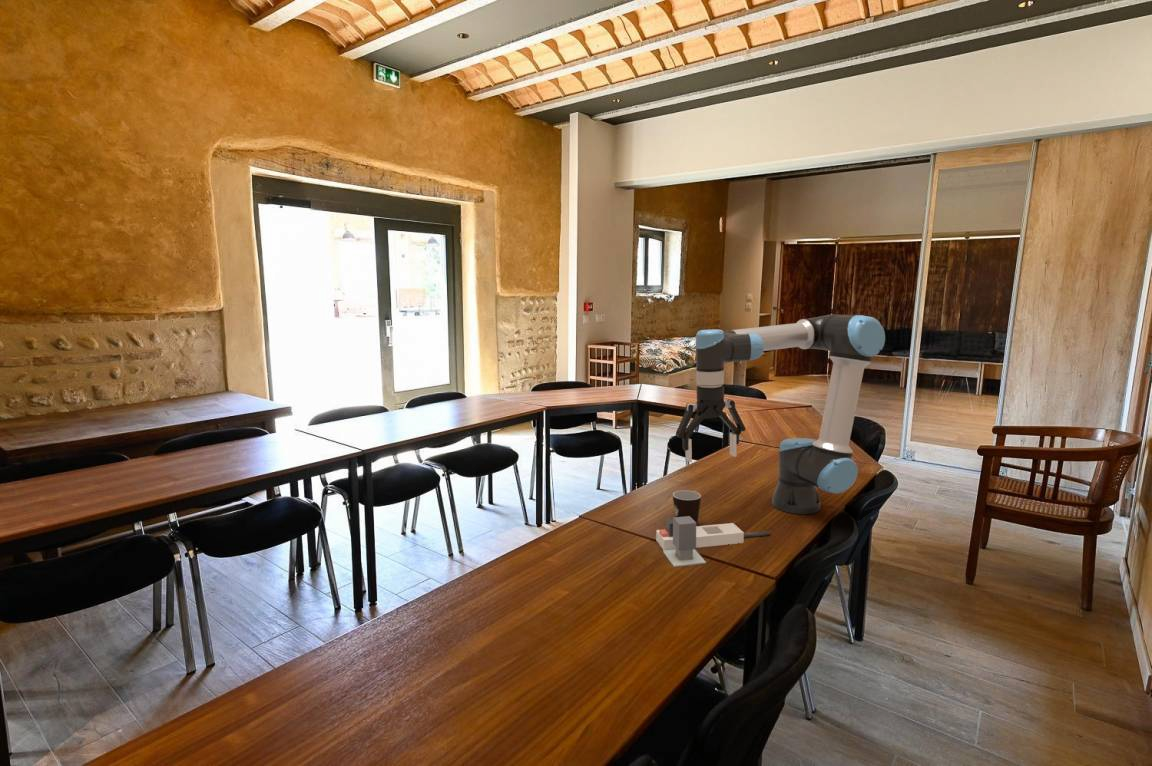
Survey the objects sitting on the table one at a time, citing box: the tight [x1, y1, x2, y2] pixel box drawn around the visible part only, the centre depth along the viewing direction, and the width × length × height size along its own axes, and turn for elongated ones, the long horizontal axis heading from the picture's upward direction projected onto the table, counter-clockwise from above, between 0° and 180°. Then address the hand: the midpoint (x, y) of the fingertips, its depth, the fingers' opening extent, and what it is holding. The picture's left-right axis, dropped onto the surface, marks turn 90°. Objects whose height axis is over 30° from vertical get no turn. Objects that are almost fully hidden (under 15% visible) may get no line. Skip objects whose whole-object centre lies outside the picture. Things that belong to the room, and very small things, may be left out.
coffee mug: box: [672, 489, 702, 526], centre depth 177 cm, size 12×9×10 cm
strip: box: [655, 517, 771, 551], centre depth 165 cm, size 34×7×7 cm, turn 100°
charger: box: [672, 516, 697, 560], centre depth 154 cm, size 5×5×10 cm
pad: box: [662, 549, 707, 568], centre depth 155 cm, size 9×9×1 cm
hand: (711, 458), depth 162 cm, fingers open, 13 cm apart
